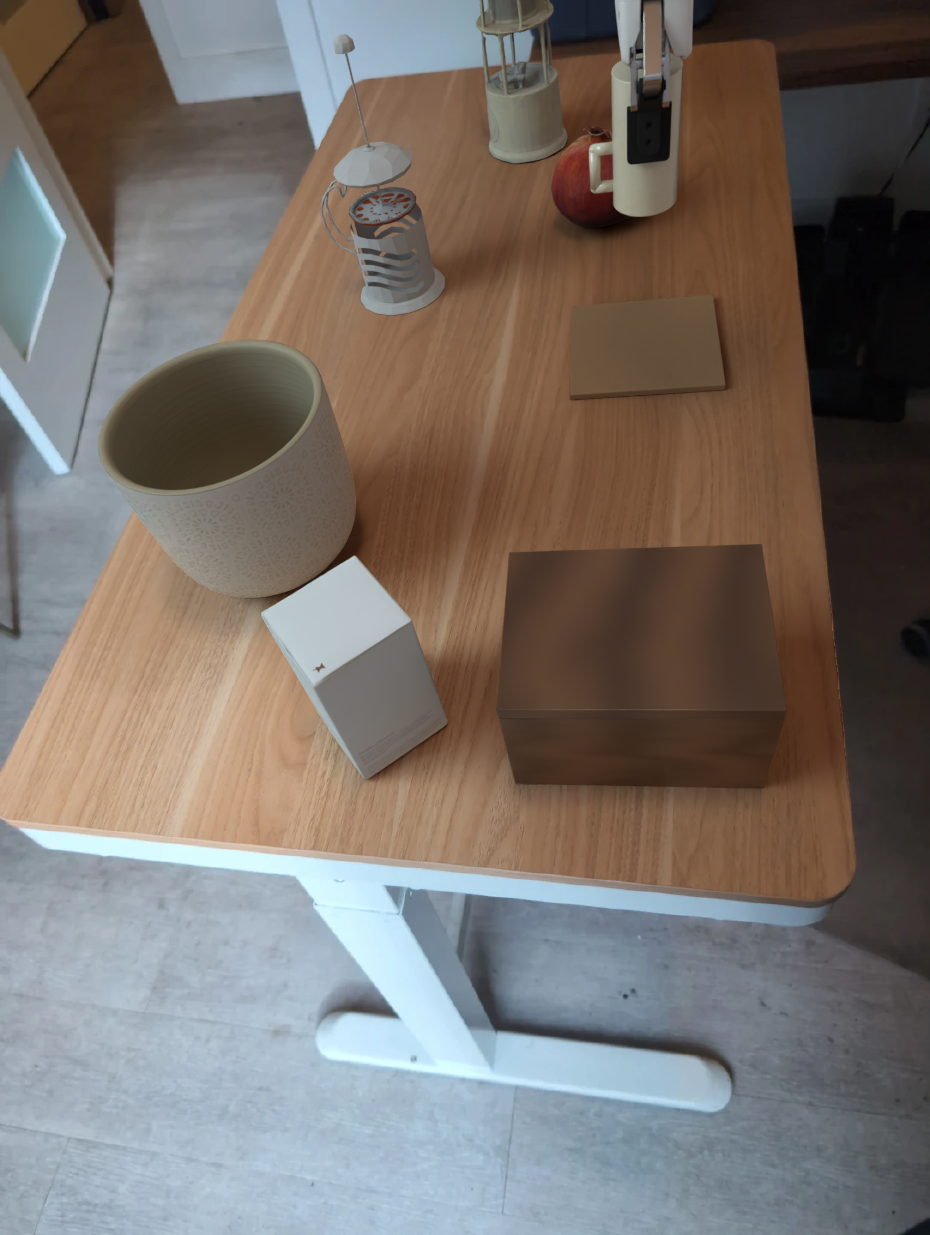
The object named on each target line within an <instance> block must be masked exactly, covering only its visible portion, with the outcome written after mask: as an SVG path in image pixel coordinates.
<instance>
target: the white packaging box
mask: <svg viewBox="0 0 930 1235" xmlns="http://www.w3.org/2000/svg"><path fill="white" fill-rule="evenodd" d="M260 615H261V618H262V620H263V622H264V624H265V625H266V627H267V629H268V631H269V633H270V635H272V638H273V639H274V640H273V641H275V643H276V644H277V646H278V648H279V650H280V651H281V653H282V655H283V656H284V658H285V660H286V662H287V663H288V664H289V666H290V668H291V670H292V671H293V673H294V674H295V676H296V678H297V679H298V681H299V683H300V684H301V686H302V688H303V689H304V691H305V693H306V694H307V696H308V698H309V700H310V701H311V703H312V705H313V707H314V708H315V710H316V712H317V713H318V715H319V717H320V719H321V720H322V721H323V723H324V724H325V727H326V728H327V729H328V731H329V732H330V734H331V736H332V737H333V738H334V740H335V741H336V743H337V744H338V745H339V747H340V748H341V749H342V751H343V753H344V754H345V755H346V757H347V758H348V759H349V761H350V762H351V764H352V765H353V766H354V767H355V769H356V771H357V772H358V773H359V775H360V776H361V777H362V779H363V780H364V781H367V780H369V779H370V778H371V777H374V776H375V775H377V774H378V773H379V772H381V771H383V769H385V768H387V767H388V766H390V765H391V764H392V763H394V762H396V761H397V760H399V759H400V758H401V757H403V756H404V755H406V754H407V753H408V752H410V751H411V750H413V749H414V748H416V747H417V746H419V745H420V744H421V743H423V742H424V741H426V740H427V739H429V738H430V737H431V736H433V735H434V734H436V733H437V732H439V731H441V729H443V728H444V727H445V726H446V725H448V722H449V720H448V717H447V714H446V712H445V710H444V706H443V703H442V700H441V698H440V696H439V692H438V689H437V687H436V684H435V681H434V678H433V675H432V673H431V670H430V667H429V665H428V662H427V659H426V657H425V653H424V651H423V648H422V645H421V642H420V639H419V637H418V634H417V631H416V628H415V625H414V623H413V619H412V618H411V617H410V616H409V615H408V614H407V612H406V611H405V610H404V609H403V607H402V606H401V605H400V604H399V603H398V602H397V601H396V600H395V598H394V597H393V596H392V594H390V593H389V591H388V590H387V589H386V588H385V587H384V586H383V585H382V583H381V582H380V581H379V580H378V578H377V577H376V576H374V575H373V573H372V572H371V570H370V569H368V568H367V567H366V565H365V564H364V563H363V562H362V561H361V560H360V559H359V558H358V557H357V556H356V555H353V556H351V557H350V558H348V559H346V560H345V561H343V562H342V563H340V564H338V565H336V566H334V567H333V568H332V569H330V570H328V571H327V572H325V573H324V574H322V575H320V576H318V577H317V578H315V579H313V580H312V581H310V582H309V583H307V584H306V585H304V586H303V587H301V588H300V589H298V590H296V591H295V592H293V593H292V594H290V595H289V596H287V597H285V598H283V599H282V600H280V601H278V602H276V603H274V604H273V605H271V606H270V607H268V608H266V609H265V610H263V611H261V613H260Z"/></svg>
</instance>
